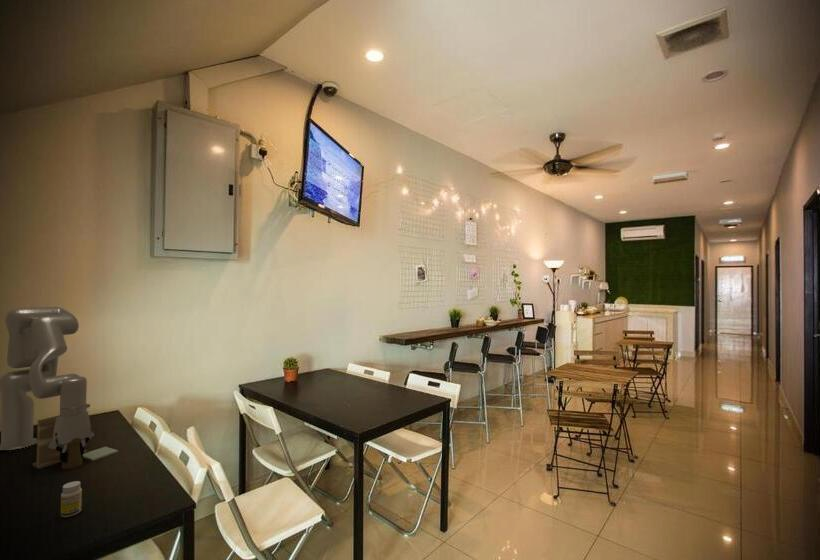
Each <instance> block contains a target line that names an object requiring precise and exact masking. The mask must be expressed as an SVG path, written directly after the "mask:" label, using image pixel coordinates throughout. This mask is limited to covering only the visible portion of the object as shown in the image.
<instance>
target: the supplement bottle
mask: <svg viewBox="0 0 820 560" xmlns="http://www.w3.org/2000/svg"><path fill="white" fill-rule="evenodd" d="M61 491H62V492H61V494H60V516H61V518H69V517H72V516H77V514H79V513H80V512H81V511H82V509H83V508H82V507H83V504H82V503H83V489H82V487H81V481H80V480H75V481H70V482H67V483H65V484H63V486H62V490H61Z"/></svg>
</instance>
